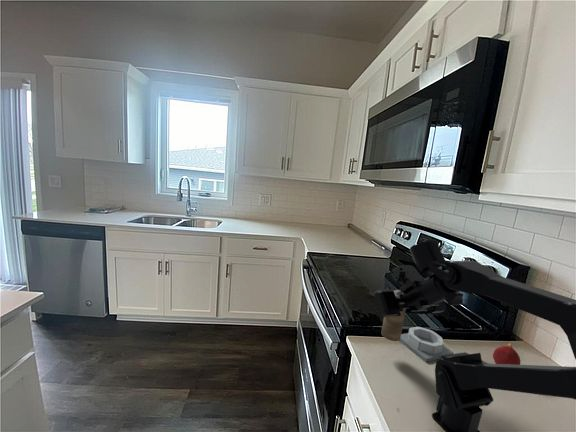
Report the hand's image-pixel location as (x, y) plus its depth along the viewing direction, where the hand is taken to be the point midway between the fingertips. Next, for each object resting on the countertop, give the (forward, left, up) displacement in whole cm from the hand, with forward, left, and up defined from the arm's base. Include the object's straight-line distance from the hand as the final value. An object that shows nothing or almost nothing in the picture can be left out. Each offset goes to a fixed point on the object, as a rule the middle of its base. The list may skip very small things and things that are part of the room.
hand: (391, 310), depth 76 cm
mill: (-1, 0, -7) cm, 7 cm away
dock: (-1, -14, -12) cm, 19 cm away
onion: (-15, -28, -13) cm, 34 cm away
